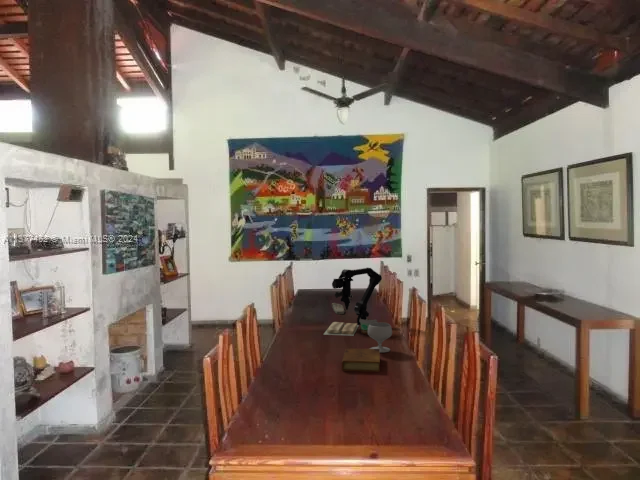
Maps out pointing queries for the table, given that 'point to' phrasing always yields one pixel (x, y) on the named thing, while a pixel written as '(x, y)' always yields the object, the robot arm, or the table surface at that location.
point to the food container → (366, 325)
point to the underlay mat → (340, 332)
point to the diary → (361, 360)
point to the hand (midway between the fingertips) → (346, 309)
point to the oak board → (349, 328)
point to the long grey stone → (338, 308)
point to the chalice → (380, 334)
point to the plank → (335, 327)
